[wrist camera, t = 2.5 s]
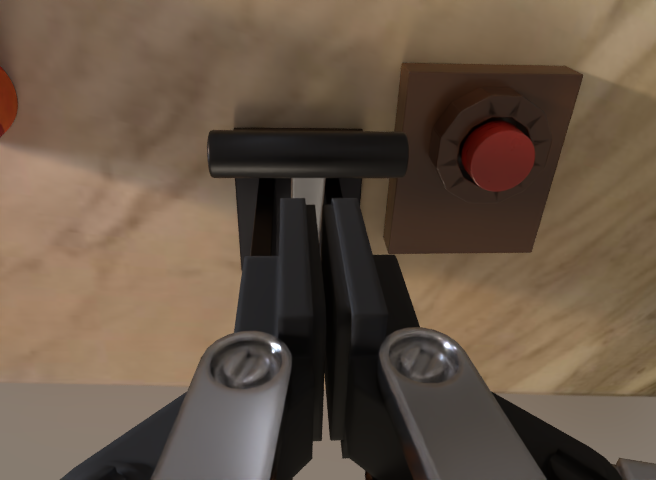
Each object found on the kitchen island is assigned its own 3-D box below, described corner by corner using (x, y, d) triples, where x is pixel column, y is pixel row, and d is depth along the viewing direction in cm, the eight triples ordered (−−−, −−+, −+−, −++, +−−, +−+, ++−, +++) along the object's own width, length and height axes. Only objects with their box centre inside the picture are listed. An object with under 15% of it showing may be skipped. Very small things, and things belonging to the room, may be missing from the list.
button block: (401, 62, 29) (416, 79, 26) (565, 65, 30) (601, 83, 27) (383, 237, 36) (393, 269, 32) (519, 236, 36) (543, 267, 33)
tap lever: (209, 108, 15) (204, 172, 14) (404, 110, 16) (413, 172, 15) (245, 281, 27) (243, 324, 26) (356, 279, 27) (360, 321, 26)
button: (466, 119, 28) (477, 130, 26) (529, 120, 28) (543, 131, 27) (456, 179, 30) (464, 192, 28) (515, 179, 30) (527, 192, 28)
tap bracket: (233, 127, 31) (207, 223, 21) (363, 128, 31) (398, 221, 21) (242, 262, 36) (225, 390, 26) (353, 260, 37) (378, 386, 27)
